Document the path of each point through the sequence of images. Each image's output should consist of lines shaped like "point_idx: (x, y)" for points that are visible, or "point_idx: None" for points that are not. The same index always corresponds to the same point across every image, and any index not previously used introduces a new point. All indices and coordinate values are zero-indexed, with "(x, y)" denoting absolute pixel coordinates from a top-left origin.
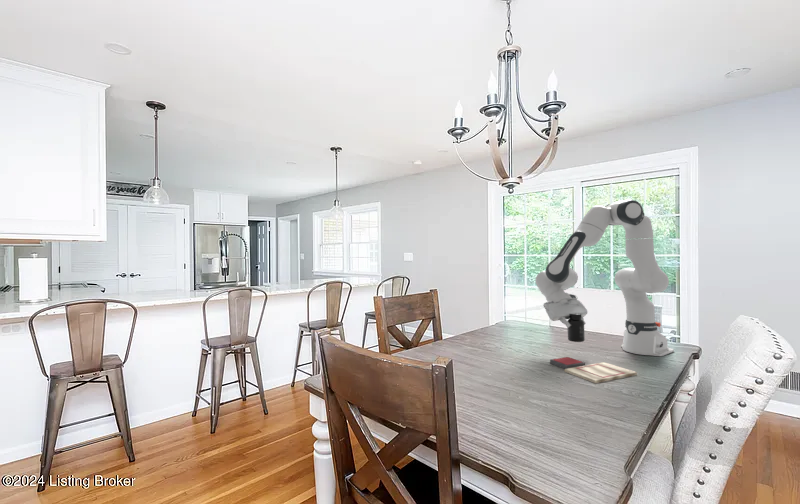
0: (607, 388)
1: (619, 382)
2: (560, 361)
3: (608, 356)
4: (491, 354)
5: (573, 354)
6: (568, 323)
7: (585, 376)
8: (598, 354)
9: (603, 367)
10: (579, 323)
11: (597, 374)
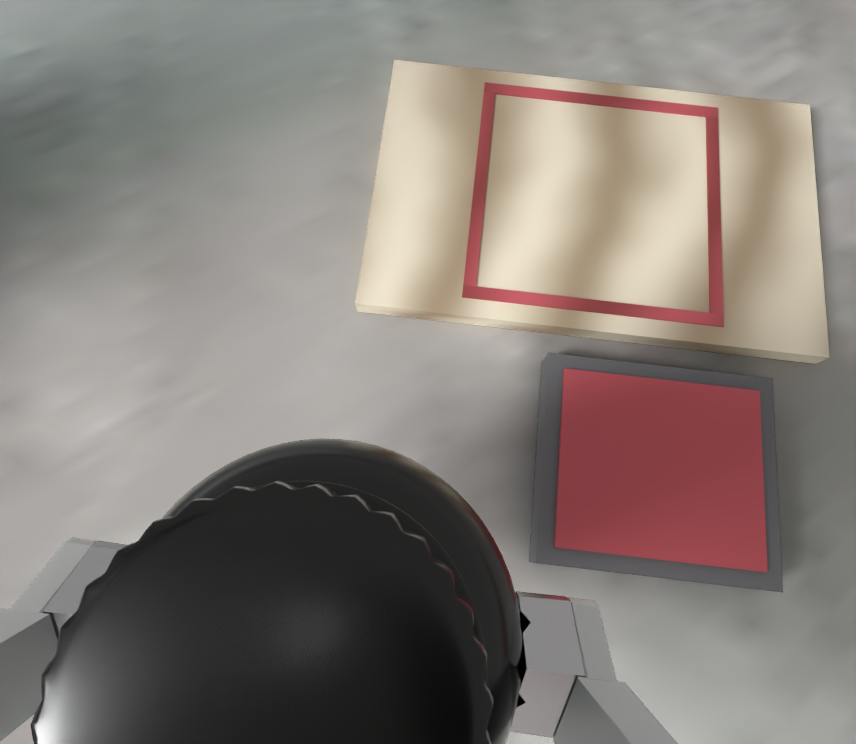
0: (801, 44)
1: (640, 60)
2: (744, 483)
3: (63, 434)
4: None
5: None
6: (606, 642)
7: (811, 178)
8: (65, 530)
9: (500, 227)
10: (411, 462)
11: (693, 161)
